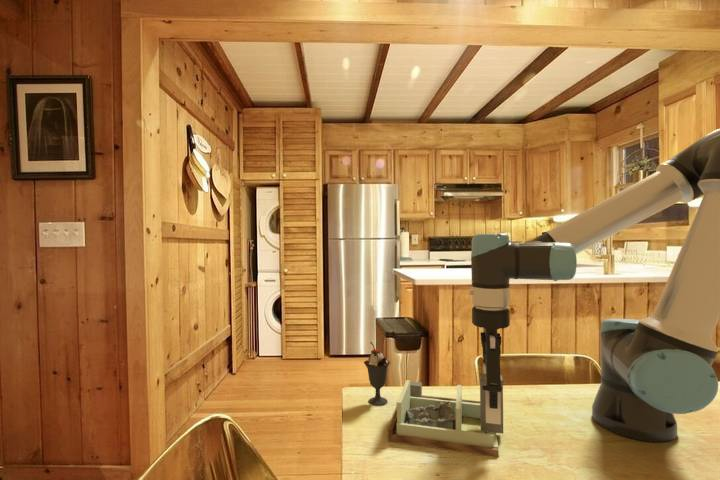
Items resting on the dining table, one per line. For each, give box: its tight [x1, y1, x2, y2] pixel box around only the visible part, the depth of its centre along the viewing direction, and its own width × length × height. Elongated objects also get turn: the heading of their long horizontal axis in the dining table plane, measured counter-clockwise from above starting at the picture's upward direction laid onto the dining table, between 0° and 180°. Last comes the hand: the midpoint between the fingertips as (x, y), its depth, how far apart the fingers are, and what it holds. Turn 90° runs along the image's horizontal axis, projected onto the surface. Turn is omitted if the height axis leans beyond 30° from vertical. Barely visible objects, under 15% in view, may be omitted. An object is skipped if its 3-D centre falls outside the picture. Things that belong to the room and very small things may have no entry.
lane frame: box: [387, 394, 500, 458], centre depth 84 cm, size 21×21×2 cm
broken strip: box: [410, 380, 480, 404], centre depth 92 cm, size 18×3×5 cm, turn 74°
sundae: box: [363, 341, 391, 407], centre depth 96 cm, size 7×7×15 cm
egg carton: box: [406, 401, 456, 430], centre depth 83 cm, size 11×8×4 cm
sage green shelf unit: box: [396, 372, 504, 450], centre depth 81 cm, size 21×14×12 cm, turn 74°
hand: (491, 407), depth 79 cm, fingers open, 13 cm apart
